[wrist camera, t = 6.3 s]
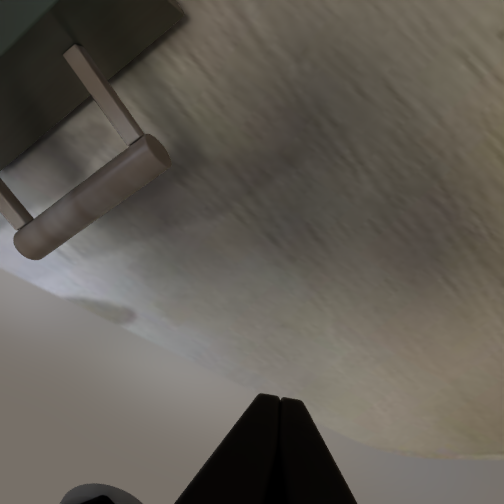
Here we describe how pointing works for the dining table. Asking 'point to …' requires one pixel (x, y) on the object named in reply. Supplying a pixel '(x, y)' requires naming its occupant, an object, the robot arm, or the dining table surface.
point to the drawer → (74, 101)
